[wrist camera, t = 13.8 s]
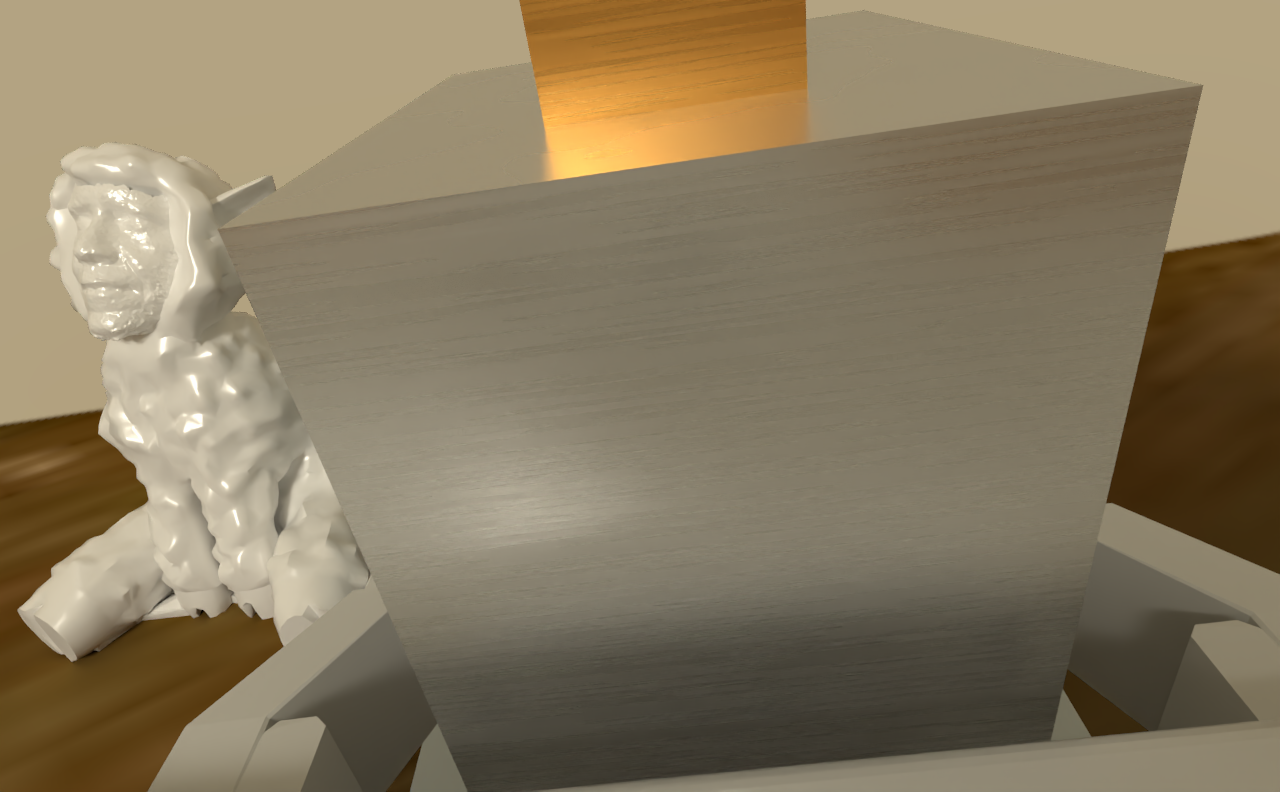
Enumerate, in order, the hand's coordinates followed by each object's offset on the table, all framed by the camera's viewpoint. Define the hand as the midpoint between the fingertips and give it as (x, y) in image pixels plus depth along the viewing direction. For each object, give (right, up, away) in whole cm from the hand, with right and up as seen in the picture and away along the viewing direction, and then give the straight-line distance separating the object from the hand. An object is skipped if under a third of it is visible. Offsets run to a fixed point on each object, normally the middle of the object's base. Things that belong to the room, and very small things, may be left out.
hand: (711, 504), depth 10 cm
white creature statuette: (-12, -4, +13) cm, 18 cm away
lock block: (+1, -6, +3) cm, 7 cm away
